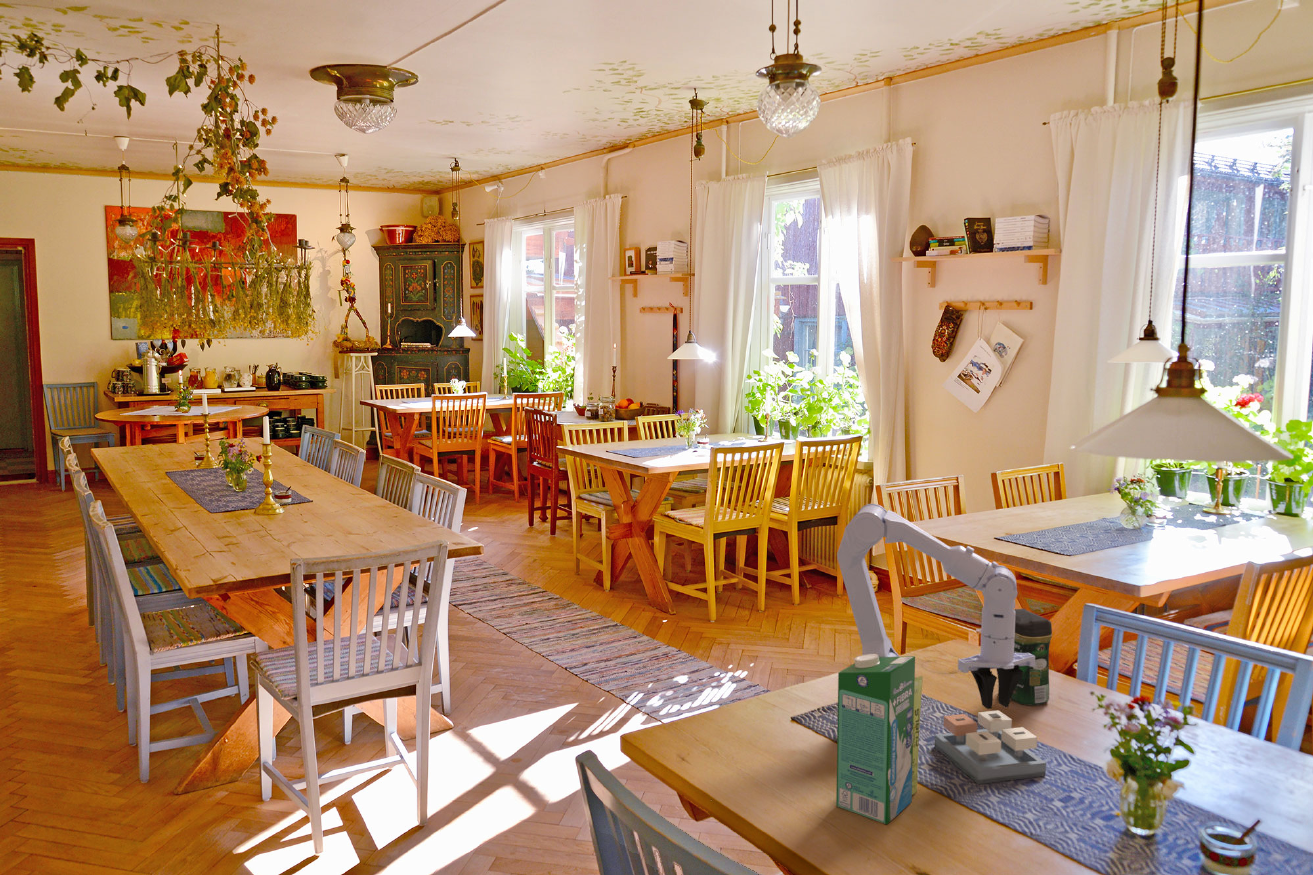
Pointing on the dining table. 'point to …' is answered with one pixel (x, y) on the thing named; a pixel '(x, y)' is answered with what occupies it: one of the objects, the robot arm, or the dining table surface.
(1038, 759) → the keypad base
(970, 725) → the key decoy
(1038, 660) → the coffee jar
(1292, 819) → the dining table surface
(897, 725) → the milk carton
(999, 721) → the key
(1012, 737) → the key
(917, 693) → the tube
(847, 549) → the robot arm
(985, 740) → the key
